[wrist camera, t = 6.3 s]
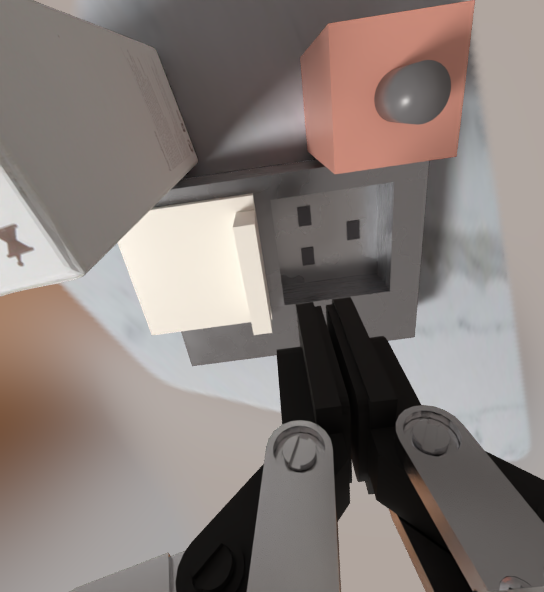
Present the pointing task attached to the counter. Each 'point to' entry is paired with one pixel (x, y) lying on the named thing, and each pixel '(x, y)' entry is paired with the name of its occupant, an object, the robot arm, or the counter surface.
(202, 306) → the cream stepped block
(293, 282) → the socket
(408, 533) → the robot arm
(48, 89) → the skincare box
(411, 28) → the plug
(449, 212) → the counter surface
